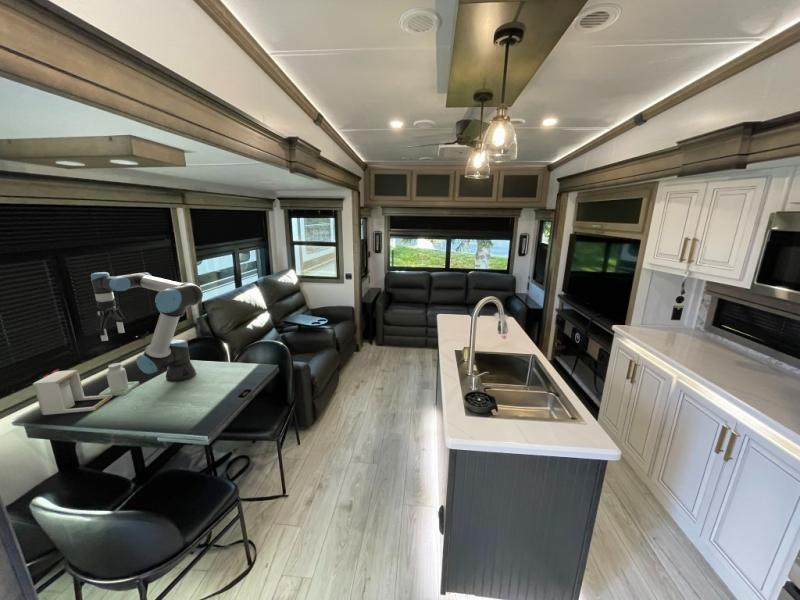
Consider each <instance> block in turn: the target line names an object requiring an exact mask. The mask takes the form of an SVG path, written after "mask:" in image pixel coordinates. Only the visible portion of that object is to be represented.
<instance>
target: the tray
mask: <svg viewBox="0 0 800 600" xmlns="http://www.w3.org/2000/svg"><path fill="white" fill-rule="evenodd" d="M128 385H129V387H128V389H126V390H124V391H121V392H111V391H110V388H109V387H107V388H105V389H104V390H103V391H101V392H100V393H99V394H98V396H100V395H111V394H112V397H116V396H126V395H127V394H129V393H130V392H131V391H132V390H133V389H135V388H136V387H138V386H139V385H140V381H139V380H138V381H128Z"/></svg>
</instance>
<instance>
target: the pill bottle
mask: <svg viewBox="0 0 800 600" xmlns="http://www.w3.org/2000/svg"><path fill="white" fill-rule="evenodd" d="M107 368H108V370H107V371H106V379H107V384H108V388H110V391H111V392H121V391H124V390H126V389H128V387H129V385H128V382H129V381H128V376H127V371H126V368H125V367H123V366H122V363H119V362H115V363H112V364H108V366H107Z"/></svg>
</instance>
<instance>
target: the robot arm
mask: <svg viewBox="0 0 800 600" xmlns="http://www.w3.org/2000/svg"><path fill="white" fill-rule="evenodd" d="M90 281H91V284H92V289H93V292H94V296H95V300H96V306H97V309H100V310H99V311H95V314H96V318H95V324H94V330H97V331H98V333H99V335H100V336H99V337H100V339H101V342H105V341H107V342H108V341H109V336H108V333H107V329H106V325H107V322H108V319H109V318H111V317H112V318H113V319H114V320H115V321H116V327H117V332H118V334H123V333H126V331H125V328H124V323H123V322H125V321H126V317H125V316H124V314H123V313H122V311H121V310H120V308H119V305H116V304H117V303H116V300H115V296H114V295H115V294H114V292H113V291H115V292H116V291H117V292H123V291H124V292H125V291H127V290H129V289H134V288H143V289H147V290H152V291H157V294H156V295H155V299H154V303H155V307H156V309H157V310H158V312H159V313H160V314H159V315H158V320H157V323H156V325H155V329H154V333H153V334H152V338H151V342H150V344H149V345H147V346H146V347H145V348H144V352H143V354H139V355H138V356H137V357H136V365H137V367H138V369H139V370H140V371H142V372H143V373H145V374H148V375H150V374H151V375H152V374H153V373H158V372H159V371H161V370H162V369H165V368H167V370H166V373H165V379H166V382H168V383H179V382H184V381H186V380H189V379H192V378H193V377H195V375H197V371H196V368H195V367H194V366H193V364H192V362H191V357H190V351H189V350H190V349H189V346H188V341H186V340H185V339H173V338H174V335H175V332H176V328H177V326H178V323H179V320H180V319H181V318H180V317H183V316H184V315H185V313H186V311H187V308H189V307H193V306H196V305H198V304H199V303H200V302H201V301H202V300H203V296H204V293H203V289H201V287H200V286H198V285H197V284H195V283H191V282H178V281H173V280H170V279H165V278H162V277H157V276H152V274H151V273H149V272H138V273H131V274H124V275H117V276H110V273H109V272H106V271H102V272H99V271H98V272H94V273H93V272H92V273H91V274H90Z"/></svg>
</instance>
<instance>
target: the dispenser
mask: <svg viewBox="0 0 800 600" xmlns="http://www.w3.org/2000/svg"><path fill="white" fill-rule="evenodd" d="M79 372H80V371H79V370H78V369H72V370H71V369H70V370H60V371H59V370H58V371H54V372H53V373H51V374H49V375H47V376H45V377H42V378H41V379H39V380H37V381H35V382H33V383H32V385H33V388H34V392H35V396H36V399H37V401H38V405H39V409H40V412H41V415H42V416H47V415H48V416H49V415H57V414H58V415H59V414H69V413H70V414H71V413H80V412H91V411H95V410H97V409H99V408H100V407H101V406H102V405H104V404H105V403H106V402H108V401H109V400H111V399H112V398H113V396H112V394H111V395H100V396H99V395H89V396H85V393H84V390H83V385H82V381H81V377H80V373H79ZM90 400H93V401H94V400H100V401H99V402H98V403H96V404H94V405H93V406H88V407H85V406H84V407H75V408H72V407H74V406H75V405H76V402H79V401H90Z"/></svg>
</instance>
